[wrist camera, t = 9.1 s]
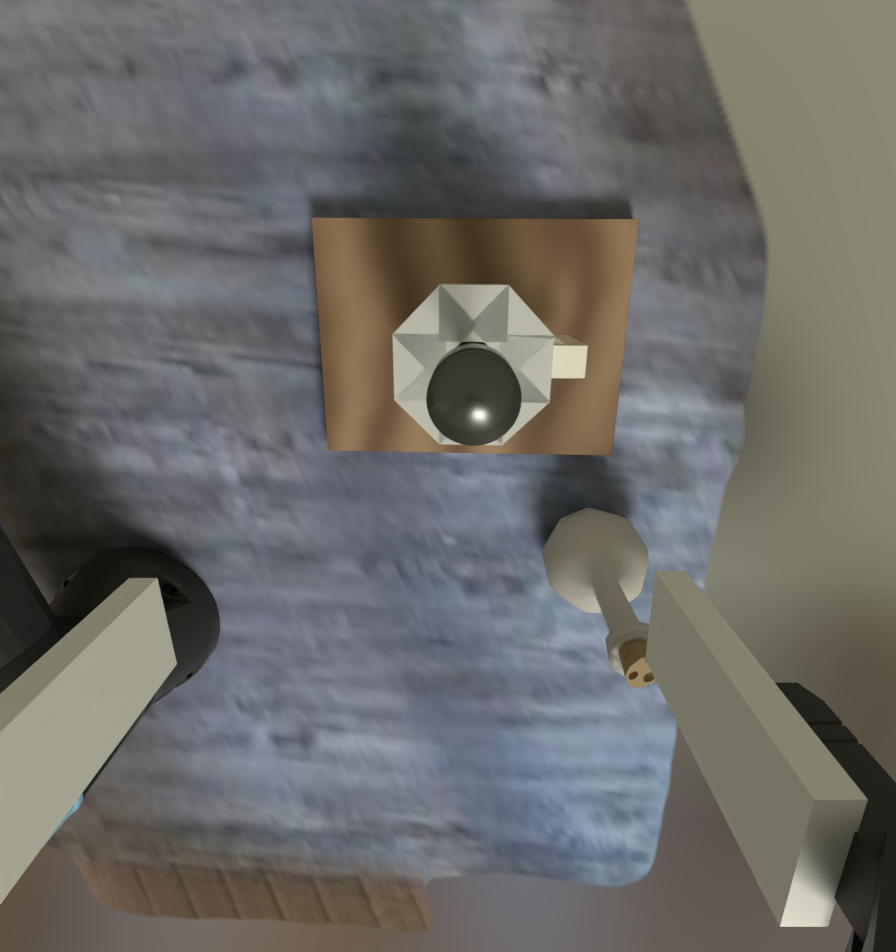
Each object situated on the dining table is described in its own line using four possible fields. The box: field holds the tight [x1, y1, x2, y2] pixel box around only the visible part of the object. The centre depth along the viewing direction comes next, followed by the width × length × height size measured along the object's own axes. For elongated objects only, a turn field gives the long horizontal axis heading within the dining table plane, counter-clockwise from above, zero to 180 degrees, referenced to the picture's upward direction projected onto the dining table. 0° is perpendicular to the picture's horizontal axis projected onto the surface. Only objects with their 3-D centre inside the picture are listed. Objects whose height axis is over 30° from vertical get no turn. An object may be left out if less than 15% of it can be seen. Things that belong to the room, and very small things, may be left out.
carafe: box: [392, 283, 588, 446], centre depth 37 cm, size 12×9×13 cm
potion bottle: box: [542, 508, 655, 688], centre depth 42 cm, size 9×9×18 cm
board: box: [312, 218, 639, 455], centre depth 44 cm, size 24×18×2 cm
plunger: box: [426, 342, 522, 446], centre depth 32 cm, size 4×4×20 cm
